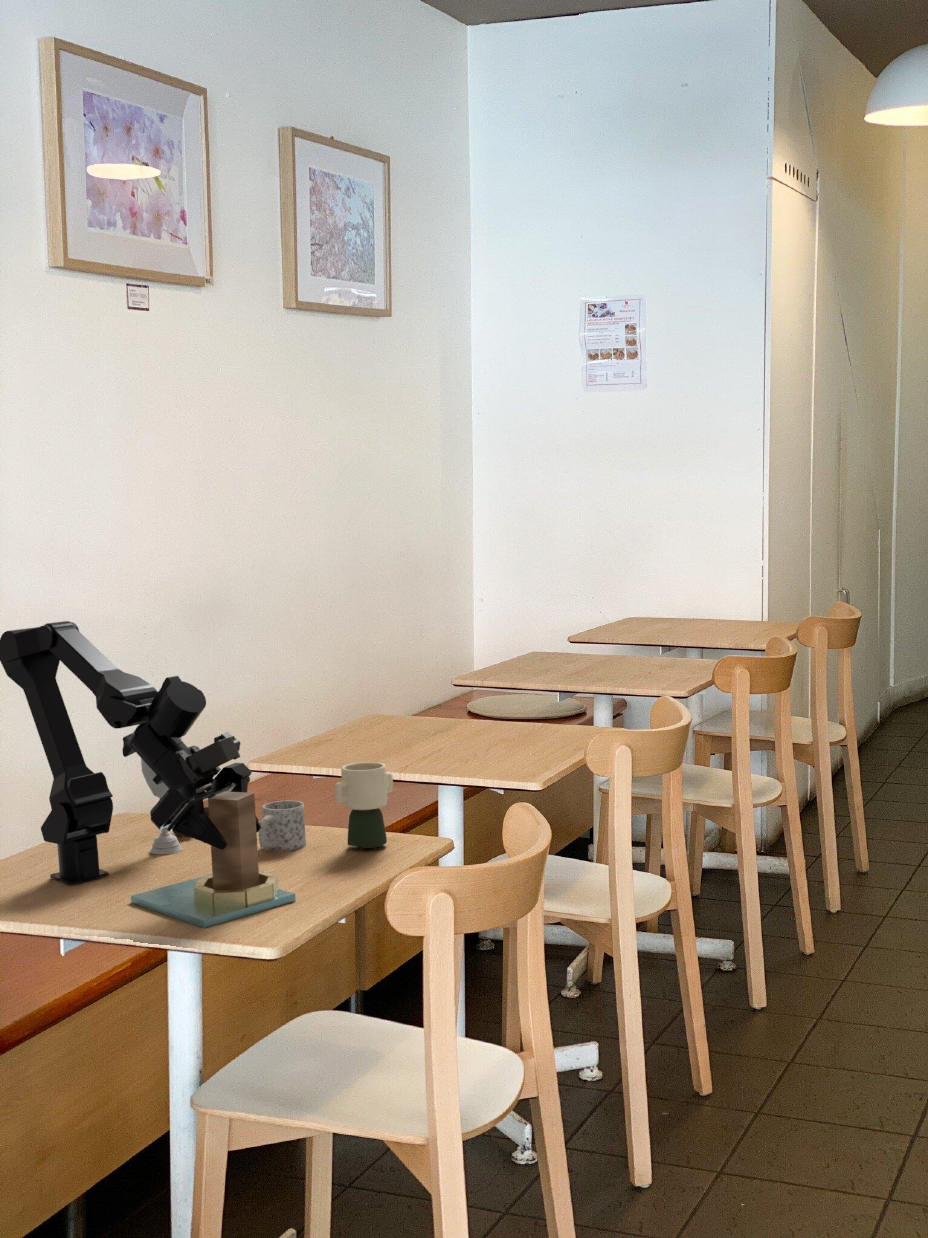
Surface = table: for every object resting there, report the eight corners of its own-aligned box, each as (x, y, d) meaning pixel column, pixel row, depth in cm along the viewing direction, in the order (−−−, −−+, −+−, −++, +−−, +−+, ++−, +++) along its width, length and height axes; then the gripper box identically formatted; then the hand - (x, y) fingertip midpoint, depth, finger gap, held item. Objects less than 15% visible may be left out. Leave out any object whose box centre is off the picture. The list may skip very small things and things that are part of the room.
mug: (279, 839, 227) (277, 799, 226) (314, 842, 224) (311, 802, 223) (243, 855, 218) (241, 813, 217) (279, 858, 215) (277, 816, 214)
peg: (213, 899, 191) (207, 799, 190) (230, 889, 195) (225, 791, 194) (243, 901, 189) (237, 800, 188) (259, 891, 194) (254, 792, 192)
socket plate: (131, 902, 194) (129, 881, 194) (220, 878, 205) (219, 858, 204) (204, 928, 181) (202, 905, 181) (295, 900, 192) (294, 879, 192)
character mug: (381, 836, 225) (378, 757, 224) (408, 844, 220) (404, 763, 219) (326, 850, 219) (321, 768, 217) (352, 858, 213) (347, 774, 212)
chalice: (197, 847, 223) (191, 737, 222) (167, 858, 218) (160, 745, 216) (164, 843, 227) (157, 734, 226) (134, 853, 222) (126, 741, 220)
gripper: (164, 729, 183) (242, 816, 180) (235, 706, 200) (308, 785, 197) (117, 786, 186) (193, 872, 183) (191, 759, 203) (262, 836, 201)
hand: (242, 838), depth 191 cm, fingers open, 9 cm apart
